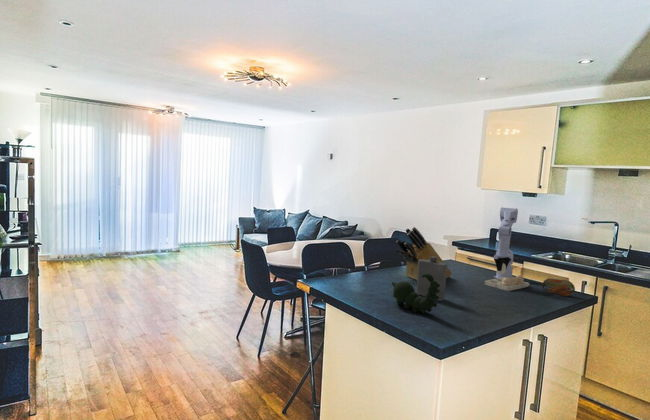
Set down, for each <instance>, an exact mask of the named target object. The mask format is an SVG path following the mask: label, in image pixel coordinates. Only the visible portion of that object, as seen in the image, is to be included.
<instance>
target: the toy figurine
mask: <svg viewBox="0 0 650 420" xmlns="http://www.w3.org/2000/svg"><path fill="white" fill-rule="evenodd" d="M423 277H426V278H427V279H428V281H430V282H431V283H430V287H429V288H428V292H427V294H426V297H425V296H424V297H423V296H420V295H418V294H417V293H416V290H415V288H414V286H413V285H412V284H411V283H410V282H408V281H402V280H401V281H399V282H395V281H394V282H393V281H391V285H392V286H393V292H392V294H393V295H392V297H393V299H394V298H395V300H396V301H395V302H396V304H397V305H399V306H402V305H403V306H404V308H405V309H410V308H412V312H413V313H415V314H416V313H417V312H421V313H422V314H426V312H428V313H431V312H432V310H433V308H436V307H437V306H438V303H436V300H435V299H439V297H438V296H436V294H437V293H439V292H440V291H439V289H437V288H438V287H440V284H438V283H437V282H436V281H433V280H434V278H433V276H432V275H430V274H427V273H426V274H423V275H422V278H423Z"/></svg>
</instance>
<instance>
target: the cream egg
mask: <svg viewBox="0 0 650 420" xmlns="http://www.w3.org/2000/svg"><path fill="white" fill-rule="evenodd" d="M497 273H500V274H505V273H506V265H505V264H504V263H503V265H502V270H501V271H497V270H496V274H497Z"/></svg>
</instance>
